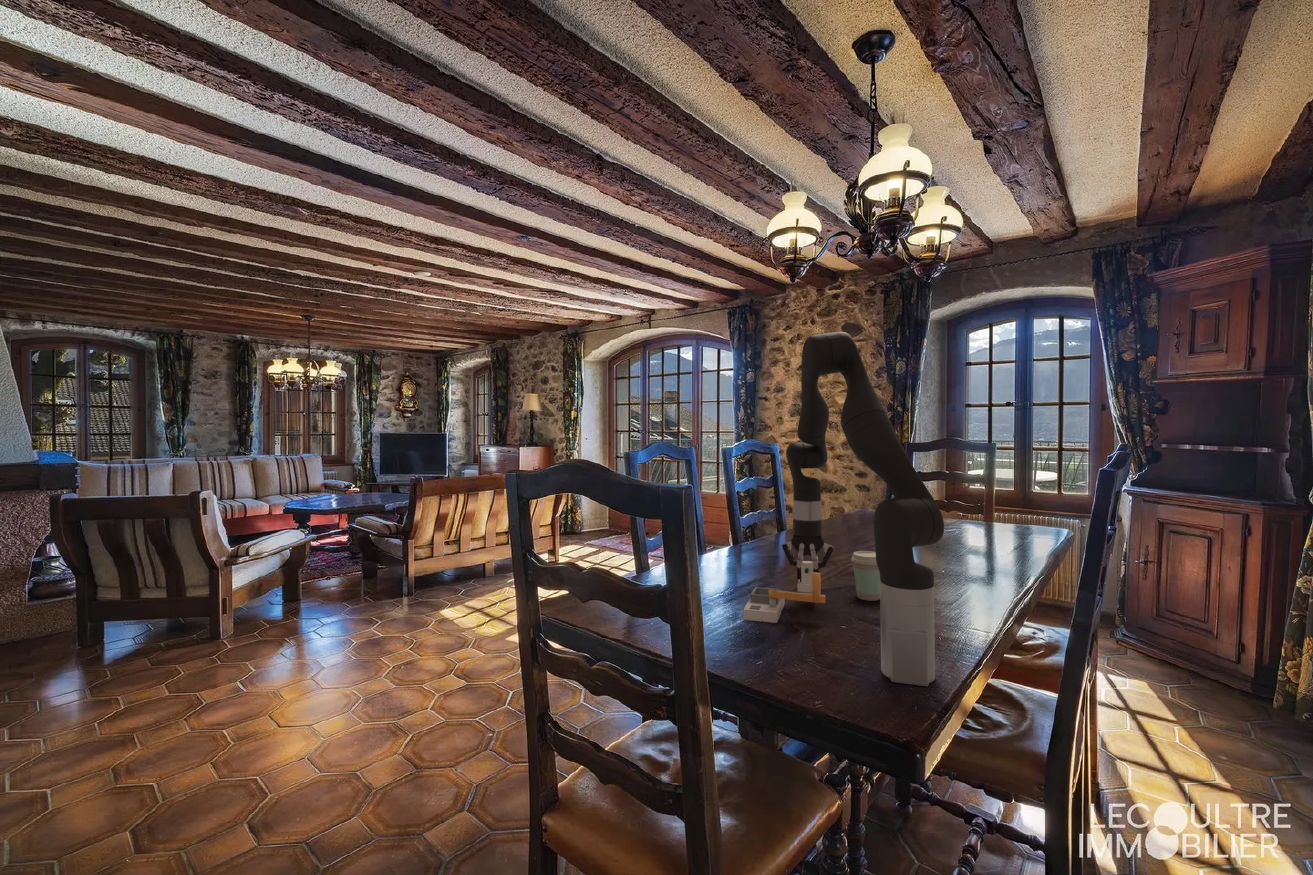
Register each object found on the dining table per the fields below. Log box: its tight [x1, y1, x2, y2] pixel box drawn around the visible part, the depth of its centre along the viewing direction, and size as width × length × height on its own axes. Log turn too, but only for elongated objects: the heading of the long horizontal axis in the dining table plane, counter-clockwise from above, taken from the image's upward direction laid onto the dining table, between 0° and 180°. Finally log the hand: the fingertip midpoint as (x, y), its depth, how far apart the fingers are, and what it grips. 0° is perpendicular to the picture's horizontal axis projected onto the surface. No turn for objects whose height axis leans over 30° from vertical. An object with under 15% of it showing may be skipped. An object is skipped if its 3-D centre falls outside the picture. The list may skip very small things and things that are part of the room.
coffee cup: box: [850, 550, 880, 602], centre depth 150 cm, size 8×8×12 cm
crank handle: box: [769, 572, 826, 604], centre depth 134 cm, size 14×2×7 cm, turn 67°
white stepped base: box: [743, 586, 786, 624], centre depth 140 cm, size 15×8×4 cm, turn 160°
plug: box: [796, 560, 814, 594], centre depth 145 cm, size 6×5×7 cm
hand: (807, 581), depth 146 cm, fingers closed on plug, 3 cm apart
